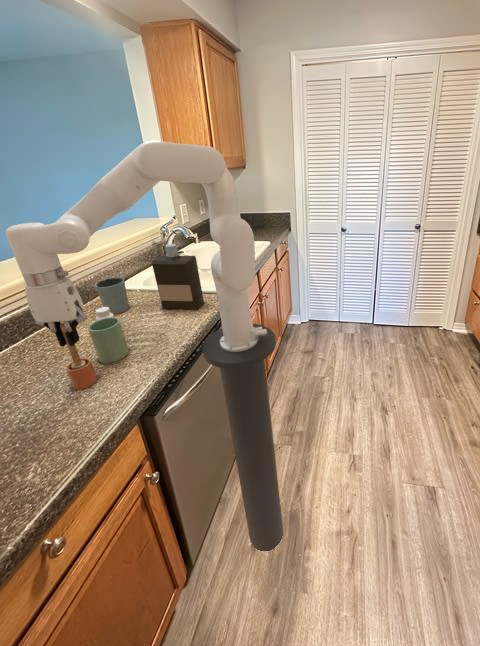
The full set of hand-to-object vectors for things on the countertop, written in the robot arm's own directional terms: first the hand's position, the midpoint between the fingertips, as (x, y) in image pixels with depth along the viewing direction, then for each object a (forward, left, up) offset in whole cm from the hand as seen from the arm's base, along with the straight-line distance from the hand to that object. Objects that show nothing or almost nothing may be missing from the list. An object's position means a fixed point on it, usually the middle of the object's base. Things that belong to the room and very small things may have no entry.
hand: (70, 342), depth 83 cm
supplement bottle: (+1, -26, -13) cm, 29 cm away
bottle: (-22, -42, -13) cm, 49 cm away
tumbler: (-4, -12, -13) cm, 18 cm away
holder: (0, 0, -13) cm, 13 cm away
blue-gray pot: (+4, -47, -13) cm, 49 cm away
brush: (0, 0, -12) cm, 12 cm away
